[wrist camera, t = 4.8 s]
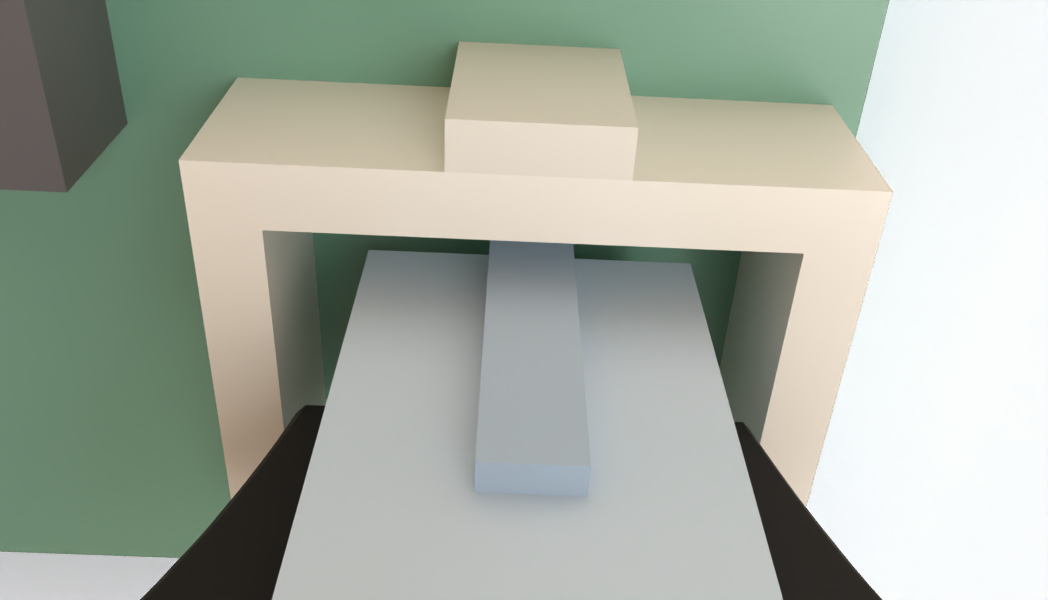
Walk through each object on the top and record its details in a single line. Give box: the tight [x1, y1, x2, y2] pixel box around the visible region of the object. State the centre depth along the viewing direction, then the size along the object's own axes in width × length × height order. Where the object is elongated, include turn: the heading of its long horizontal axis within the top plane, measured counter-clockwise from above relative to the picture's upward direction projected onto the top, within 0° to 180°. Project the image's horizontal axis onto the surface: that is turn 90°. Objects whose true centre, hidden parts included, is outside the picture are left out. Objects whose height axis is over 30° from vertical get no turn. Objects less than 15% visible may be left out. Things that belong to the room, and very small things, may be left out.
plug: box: [272, 240, 783, 600], centre depth 11 cm, size 4×4×6 cm
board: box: [0, 0, 889, 558], centre depth 14 cm, size 12×17×1 cm
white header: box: [179, 41, 893, 507], centre depth 13 cm, size 8×8×2 cm
